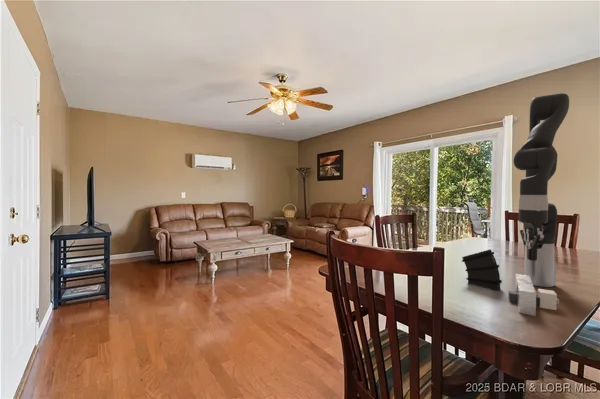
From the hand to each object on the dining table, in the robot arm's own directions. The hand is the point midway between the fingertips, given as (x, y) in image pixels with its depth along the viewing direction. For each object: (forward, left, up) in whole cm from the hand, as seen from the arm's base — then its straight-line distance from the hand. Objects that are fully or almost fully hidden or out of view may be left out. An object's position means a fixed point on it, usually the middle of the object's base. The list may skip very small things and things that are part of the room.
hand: (531, 259), depth 93 cm
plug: (0, 0, -15) cm, 15 cm away
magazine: (+4, -19, -15) cm, 25 cm away
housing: (+2, -1, -15) cm, 15 cm away
